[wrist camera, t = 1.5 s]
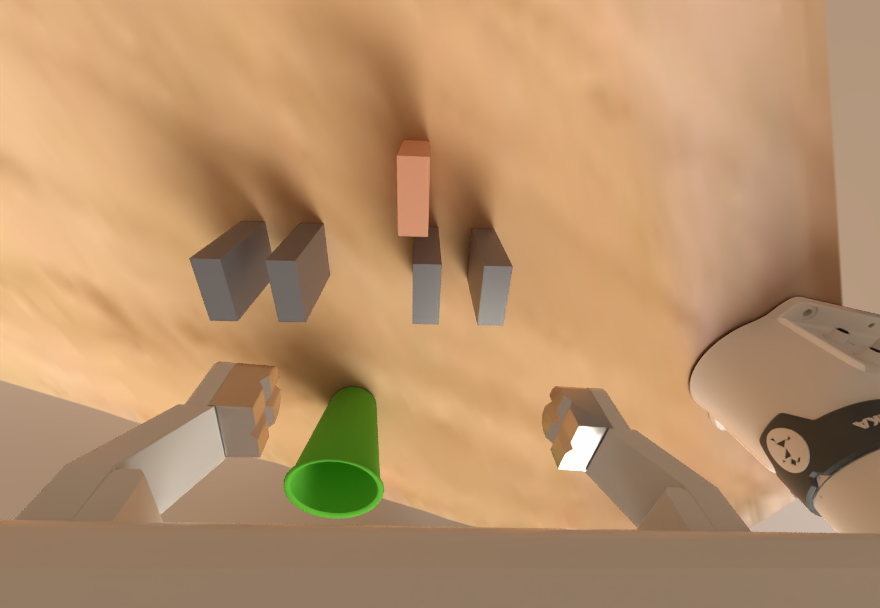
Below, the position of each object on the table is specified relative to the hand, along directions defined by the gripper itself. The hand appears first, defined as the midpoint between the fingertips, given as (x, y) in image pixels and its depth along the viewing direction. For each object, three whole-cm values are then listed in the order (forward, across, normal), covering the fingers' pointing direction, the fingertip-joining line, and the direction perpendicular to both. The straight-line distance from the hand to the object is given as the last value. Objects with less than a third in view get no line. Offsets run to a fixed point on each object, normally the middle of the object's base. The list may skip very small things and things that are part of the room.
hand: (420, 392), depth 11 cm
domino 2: (+23, +8, +6) cm, 26 cm away
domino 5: (+23, -6, +4) cm, 24 cm away
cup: (+24, +4, +25) cm, 34 cm away
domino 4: (+23, -2, +5) cm, 24 cm away
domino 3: (+23, 0, -2) cm, 23 cm away
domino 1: (+24, +13, +6) cm, 28 cm away
